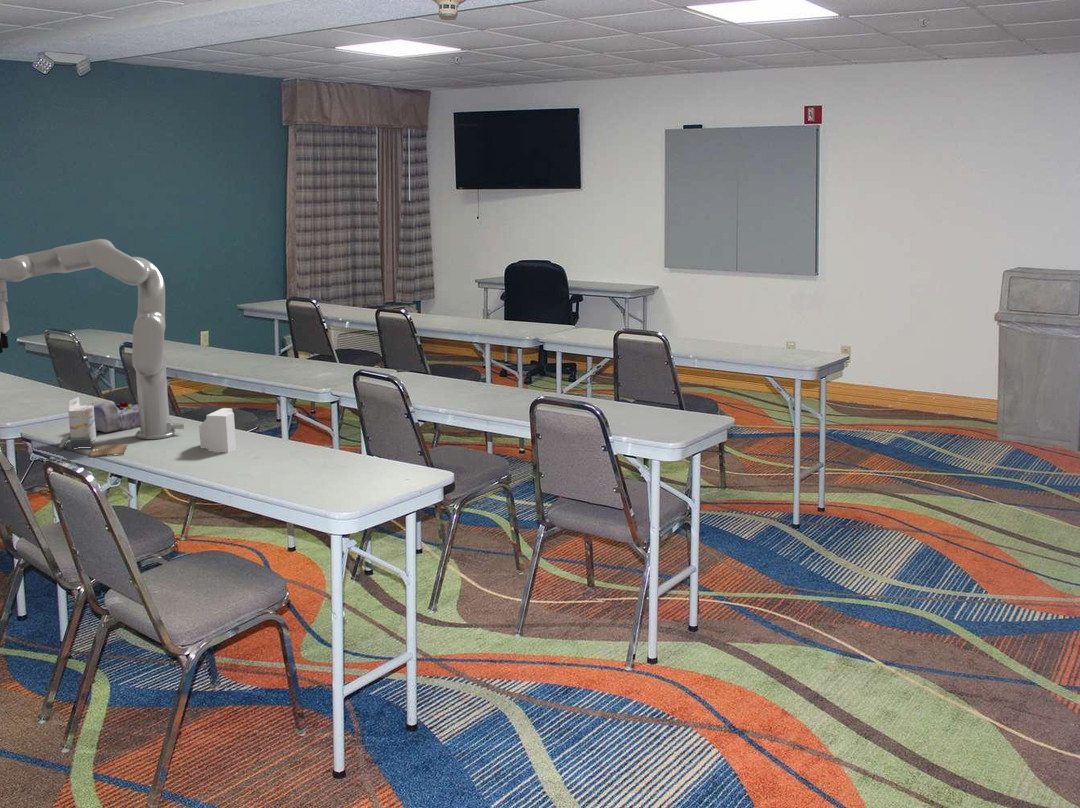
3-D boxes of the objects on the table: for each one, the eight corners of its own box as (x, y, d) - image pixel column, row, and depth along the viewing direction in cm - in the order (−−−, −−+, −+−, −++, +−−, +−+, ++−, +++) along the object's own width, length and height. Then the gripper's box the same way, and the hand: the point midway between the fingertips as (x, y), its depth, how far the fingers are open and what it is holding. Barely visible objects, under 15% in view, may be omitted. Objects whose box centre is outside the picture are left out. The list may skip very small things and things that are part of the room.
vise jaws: (97, 435, 356) (96, 427, 355) (90, 448, 340) (90, 439, 339) (66, 437, 353) (65, 429, 352) (58, 450, 337) (57, 441, 336)
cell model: (79, 401, 359) (124, 391, 377) (82, 432, 361) (127, 421, 379) (108, 404, 353) (152, 394, 371) (110, 435, 355) (154, 424, 373)
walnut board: (127, 445, 343) (127, 443, 343) (124, 454, 332) (123, 453, 332) (94, 447, 340) (94, 445, 340) (89, 457, 329) (89, 455, 329)
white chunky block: (228, 453, 335) (225, 416, 332) (195, 451, 337) (192, 414, 334) (243, 444, 345) (241, 409, 342) (212, 443, 347) (209, 407, 344)
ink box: (86, 446, 343) (81, 401, 339) (70, 446, 343) (66, 401, 340) (97, 439, 351) (93, 396, 348) (82, 439, 351) (78, 396, 348)
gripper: (2, 300, 327) (8, 354, 331) (12, 294, 343) (17, 345, 347) (-25, 300, 325) (-19, 355, 329) (-14, 294, 341) (-8, 346, 345)
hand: (0, 350), depth 338 cm, fingers open, 9 cm apart
